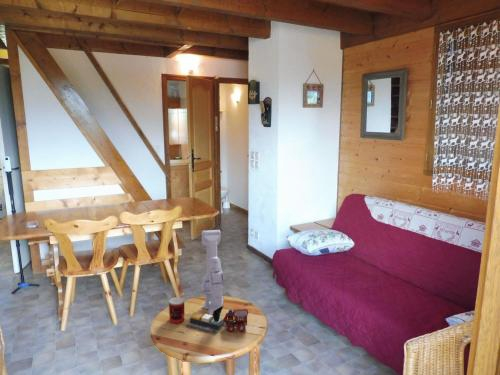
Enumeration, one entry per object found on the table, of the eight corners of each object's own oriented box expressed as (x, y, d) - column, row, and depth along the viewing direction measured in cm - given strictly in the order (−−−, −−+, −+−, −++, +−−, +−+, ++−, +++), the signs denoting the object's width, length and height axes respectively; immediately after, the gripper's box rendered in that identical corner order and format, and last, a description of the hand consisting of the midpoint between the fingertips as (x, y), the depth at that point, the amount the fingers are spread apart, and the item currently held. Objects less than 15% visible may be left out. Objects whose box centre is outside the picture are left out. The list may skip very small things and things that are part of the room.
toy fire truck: (222, 325, 192) (222, 306, 190) (247, 324, 193) (247, 305, 191) (223, 333, 185) (223, 313, 183) (248, 331, 186) (248, 312, 185)
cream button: (205, 317, 195) (205, 313, 195) (212, 319, 193) (212, 315, 193) (201, 321, 191) (201, 317, 191) (208, 322, 190) (208, 319, 189)
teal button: (215, 321, 193) (215, 317, 192) (222, 322, 191) (222, 319, 191) (211, 325, 189) (211, 321, 189) (218, 326, 188) (218, 323, 187)
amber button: (196, 316, 197) (196, 312, 197) (203, 318, 196) (203, 314, 195) (192, 320, 194) (192, 316, 193) (199, 321, 192) (198, 318, 192)
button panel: (198, 315, 201) (198, 310, 201) (227, 322, 195) (227, 317, 194) (186, 326, 191) (186, 321, 190) (216, 334, 184) (216, 329, 183)
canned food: (180, 314, 202) (179, 295, 200) (187, 321, 196) (187, 301, 194) (166, 319, 197) (166, 299, 195) (174, 325, 191) (173, 305, 189)
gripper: (214, 287, 195) (214, 312, 198) (202, 300, 182) (203, 326, 184) (227, 289, 193) (227, 314, 196) (216, 302, 180) (216, 329, 182)
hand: (216, 320), depth 190 cm, fingers closed, pressing on teal button
